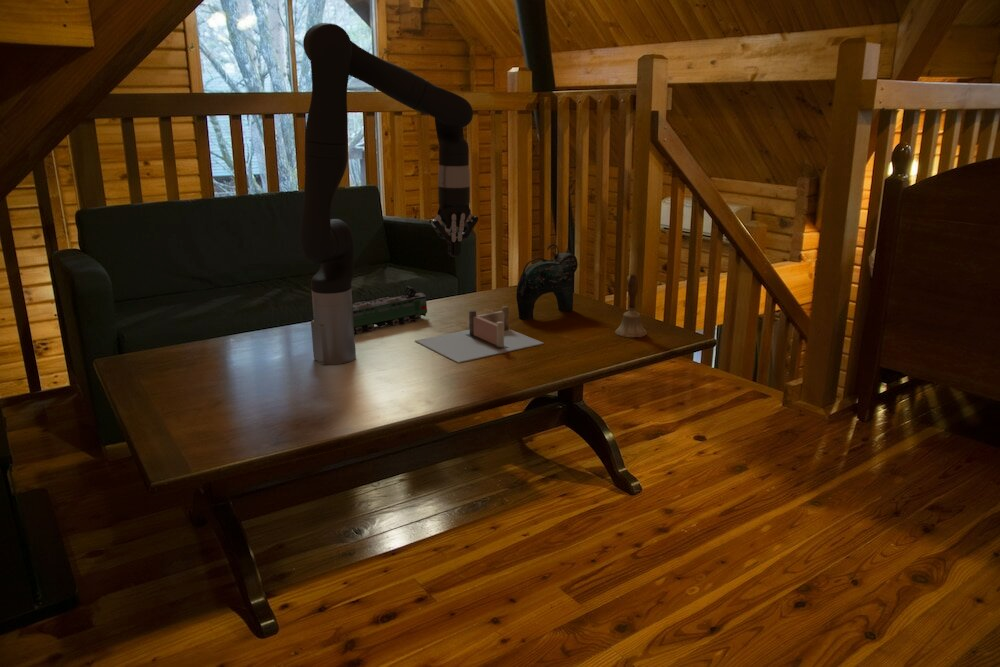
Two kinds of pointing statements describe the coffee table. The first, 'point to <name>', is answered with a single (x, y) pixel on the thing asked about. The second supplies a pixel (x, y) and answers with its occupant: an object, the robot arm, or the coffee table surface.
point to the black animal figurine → (547, 282)
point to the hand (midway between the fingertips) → (454, 256)
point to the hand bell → (631, 314)
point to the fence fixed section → (491, 318)
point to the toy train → (389, 310)
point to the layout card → (475, 345)
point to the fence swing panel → (489, 330)
